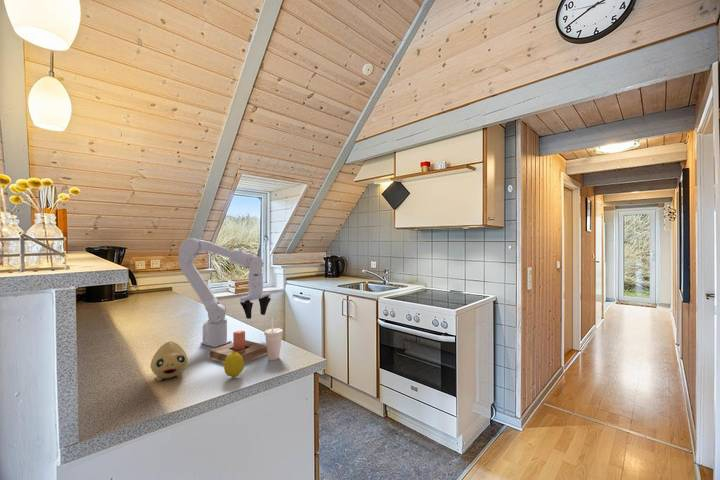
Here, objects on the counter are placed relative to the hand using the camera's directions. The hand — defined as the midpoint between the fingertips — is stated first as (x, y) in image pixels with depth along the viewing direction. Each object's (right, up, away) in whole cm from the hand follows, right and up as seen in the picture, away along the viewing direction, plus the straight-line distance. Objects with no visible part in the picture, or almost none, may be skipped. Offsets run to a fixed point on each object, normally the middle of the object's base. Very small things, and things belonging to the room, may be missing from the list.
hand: (256, 316), depth 137 cm
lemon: (+6, -10, -39) cm, 40 cm away
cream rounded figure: (-14, -10, -38) cm, 42 cm away
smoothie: (+13, -10, -22) cm, 28 cm away
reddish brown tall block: (0, -9, -20) cm, 22 cm away
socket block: (+1, -10, -20) cm, 22 cm away
